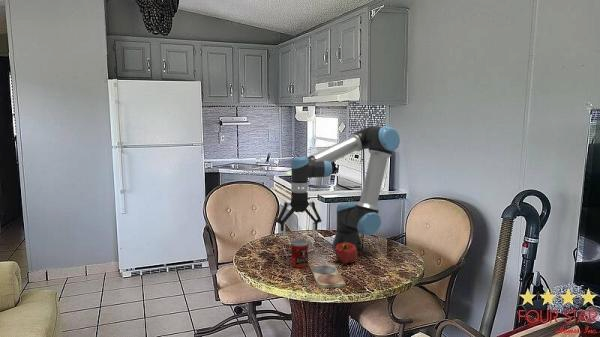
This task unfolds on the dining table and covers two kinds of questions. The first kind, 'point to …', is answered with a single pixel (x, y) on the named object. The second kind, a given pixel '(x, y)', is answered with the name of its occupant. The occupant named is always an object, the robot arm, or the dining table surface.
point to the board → (327, 276)
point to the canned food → (299, 253)
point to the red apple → (346, 252)
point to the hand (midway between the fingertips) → (298, 237)
